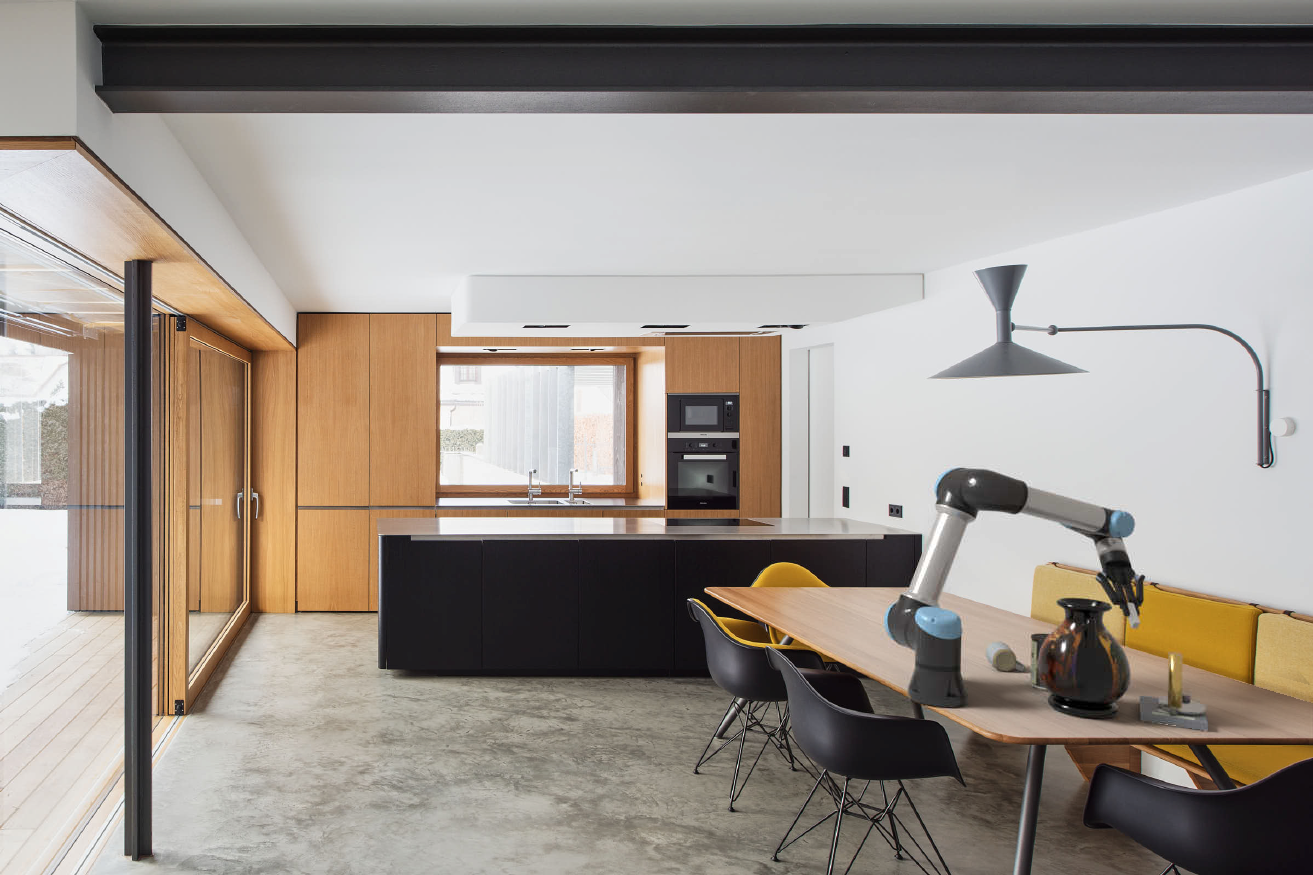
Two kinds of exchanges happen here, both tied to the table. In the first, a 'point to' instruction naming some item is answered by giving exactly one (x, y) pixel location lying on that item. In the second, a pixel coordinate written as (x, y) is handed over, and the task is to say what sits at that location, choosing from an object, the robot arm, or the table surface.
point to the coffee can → (1036, 659)
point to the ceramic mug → (1002, 657)
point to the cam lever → (1178, 690)
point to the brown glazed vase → (1083, 662)
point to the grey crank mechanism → (1169, 715)
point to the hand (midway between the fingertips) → (1135, 625)
